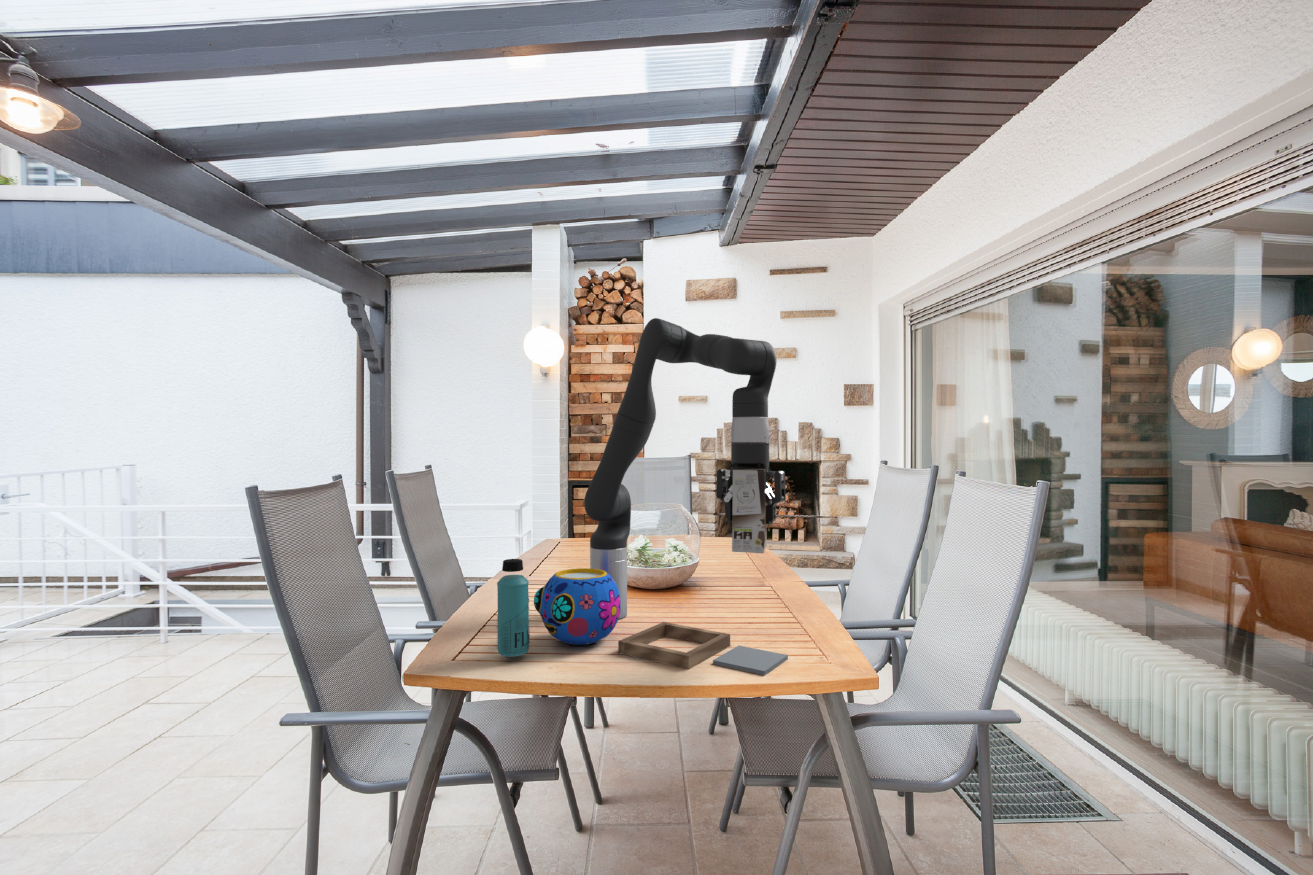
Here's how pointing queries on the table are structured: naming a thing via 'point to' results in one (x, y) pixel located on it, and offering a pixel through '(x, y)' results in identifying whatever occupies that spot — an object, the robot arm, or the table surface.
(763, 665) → the slate mat
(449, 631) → the table surface
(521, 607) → the beverage bottle
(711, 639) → the board
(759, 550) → the coffee box
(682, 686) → the table surface
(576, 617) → the ceramic pot
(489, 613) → the table surface
